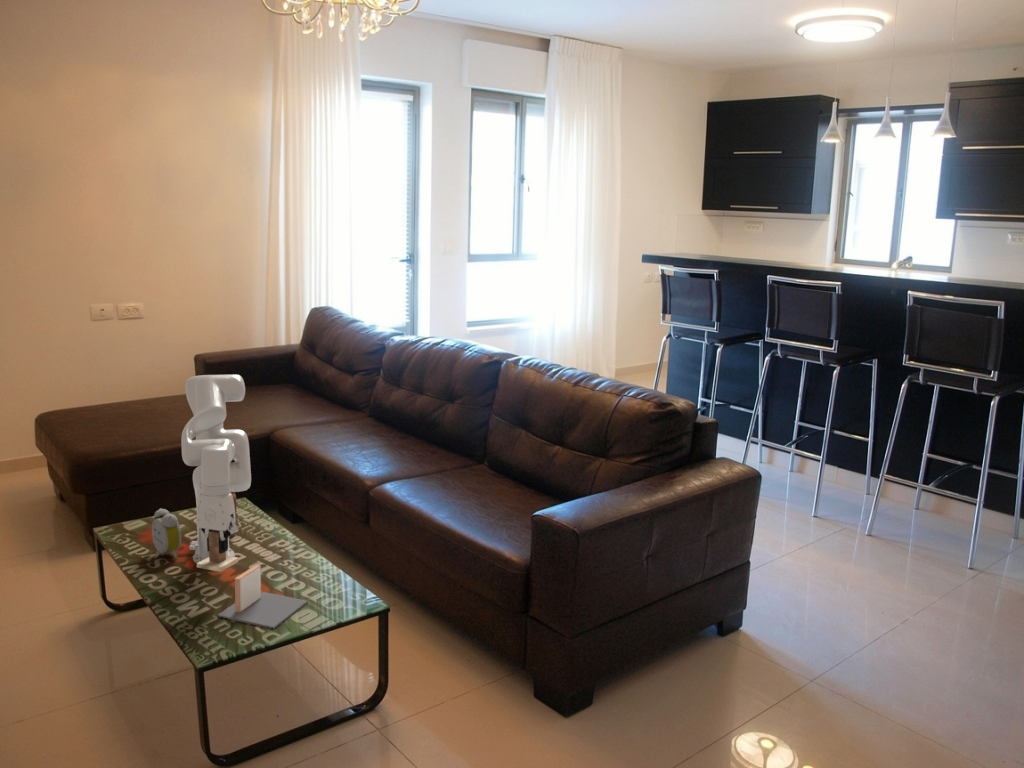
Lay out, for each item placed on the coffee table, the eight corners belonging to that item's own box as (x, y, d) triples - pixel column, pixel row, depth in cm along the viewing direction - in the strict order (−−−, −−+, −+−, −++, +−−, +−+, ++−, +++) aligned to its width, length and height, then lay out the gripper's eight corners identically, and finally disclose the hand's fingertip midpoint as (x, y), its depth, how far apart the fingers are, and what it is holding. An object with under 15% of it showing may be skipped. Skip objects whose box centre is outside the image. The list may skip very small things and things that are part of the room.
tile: (235, 611, 232) (234, 578, 230) (256, 596, 241) (256, 564, 239) (240, 612, 231) (239, 579, 229) (261, 597, 241) (261, 565, 239)
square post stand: (196, 567, 234) (195, 533, 232) (215, 557, 241) (214, 524, 240) (220, 571, 231) (220, 537, 230) (238, 561, 239) (237, 528, 237)
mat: (217, 616, 230) (217, 614, 229) (254, 591, 245) (254, 589, 245) (273, 629, 224) (273, 627, 224) (307, 602, 240) (307, 600, 240)
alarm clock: (182, 559, 266) (181, 515, 263) (161, 564, 261) (159, 519, 258) (168, 548, 274) (166, 505, 271) (147, 553, 269) (145, 509, 266)
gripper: (182, 489, 231) (184, 551, 235) (232, 496, 227) (234, 560, 230) (200, 481, 238) (202, 542, 242) (249, 489, 234) (250, 550, 237)
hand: (217, 550), depth 236 cm, fingers closed on square post stand, 3 cm apart
